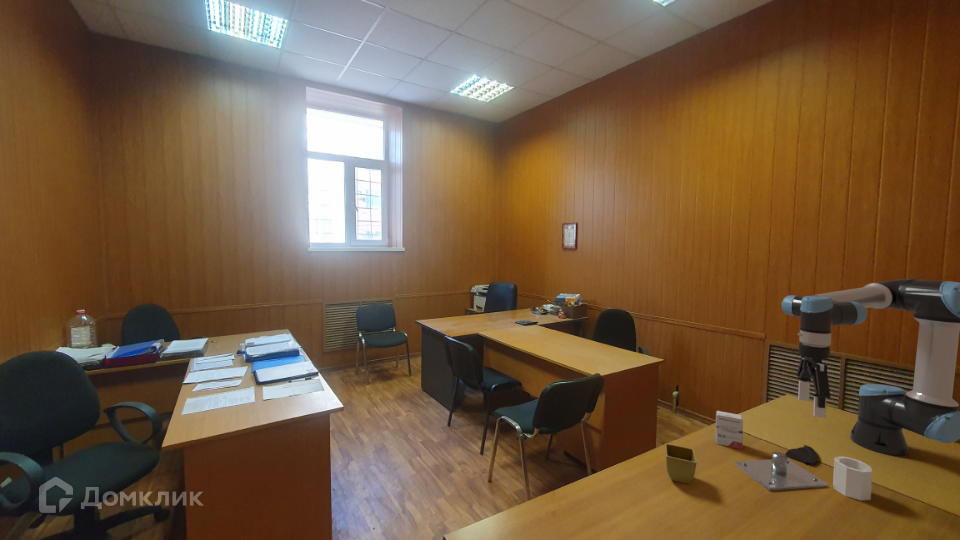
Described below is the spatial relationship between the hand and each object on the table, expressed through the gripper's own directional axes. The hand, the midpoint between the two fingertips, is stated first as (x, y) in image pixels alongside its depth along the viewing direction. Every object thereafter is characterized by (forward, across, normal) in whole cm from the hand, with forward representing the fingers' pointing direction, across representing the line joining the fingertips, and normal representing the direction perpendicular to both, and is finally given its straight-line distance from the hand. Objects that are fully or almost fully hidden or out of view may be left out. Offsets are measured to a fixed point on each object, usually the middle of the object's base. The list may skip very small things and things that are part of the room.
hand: (811, 408), depth 121 cm
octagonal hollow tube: (+24, +2, +10) cm, 26 cm away
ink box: (+24, -15, -20) cm, 35 cm away
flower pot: (+25, +17, -38) cm, 48 cm away
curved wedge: (+25, -16, +4) cm, 30 cm away
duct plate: (+24, +1, -8) cm, 25 cm away
